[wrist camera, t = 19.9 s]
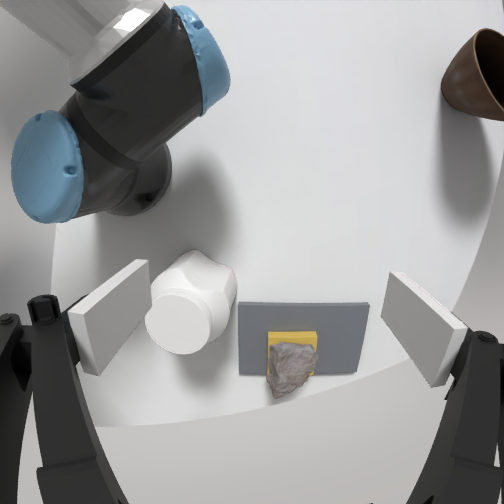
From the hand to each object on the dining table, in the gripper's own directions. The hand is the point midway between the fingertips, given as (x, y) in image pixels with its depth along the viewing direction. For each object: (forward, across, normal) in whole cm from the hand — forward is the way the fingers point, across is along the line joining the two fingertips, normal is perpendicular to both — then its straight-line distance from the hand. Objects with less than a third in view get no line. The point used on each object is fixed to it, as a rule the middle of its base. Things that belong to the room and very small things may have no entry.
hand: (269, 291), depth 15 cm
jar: (+30, -10, -12) cm, 34 cm away
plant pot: (+30, +34, +26) cm, 52 cm away
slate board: (+30, +8, -21) cm, 37 cm away
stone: (+27, +5, -23) cm, 36 cm away
